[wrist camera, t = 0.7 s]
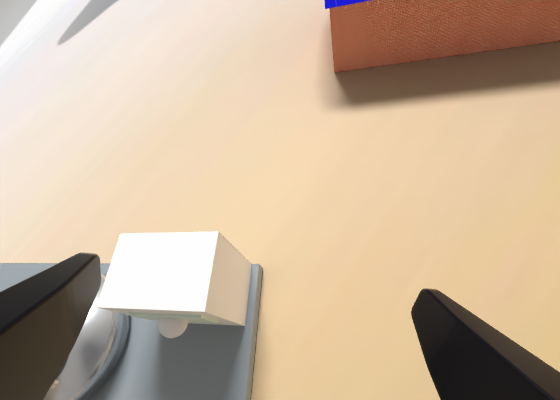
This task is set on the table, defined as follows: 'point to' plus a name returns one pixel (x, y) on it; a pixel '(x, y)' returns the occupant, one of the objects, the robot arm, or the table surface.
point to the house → (434, 28)
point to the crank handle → (91, 354)
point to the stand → (176, 316)
